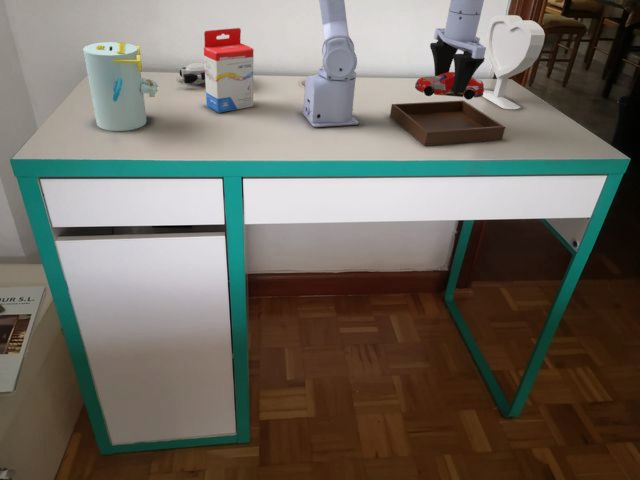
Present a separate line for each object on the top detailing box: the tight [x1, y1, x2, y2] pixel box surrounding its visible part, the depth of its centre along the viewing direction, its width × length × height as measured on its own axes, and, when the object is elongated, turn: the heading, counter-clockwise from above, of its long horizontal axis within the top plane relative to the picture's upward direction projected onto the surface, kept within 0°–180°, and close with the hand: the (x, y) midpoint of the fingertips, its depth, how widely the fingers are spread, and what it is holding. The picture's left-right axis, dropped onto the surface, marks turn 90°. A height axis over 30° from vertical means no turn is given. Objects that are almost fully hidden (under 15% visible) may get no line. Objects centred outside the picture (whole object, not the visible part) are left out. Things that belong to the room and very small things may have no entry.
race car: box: [414, 71, 485, 100], centre depth 100 cm, size 13×5×4 cm, turn 86°
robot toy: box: [175, 62, 206, 86], centre depth 116 cm, size 12×4×15 cm
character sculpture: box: [82, 41, 159, 132], centre depth 92 cm, size 20×12×13 cm, turn 17°
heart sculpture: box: [481, 14, 546, 110], centre depth 117 cm, size 16×5×18 cm, turn 18°
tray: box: [389, 100, 506, 147], centre depth 104 cm, size 17×15×3 cm
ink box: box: [203, 27, 254, 114], centre depth 102 cm, size 8×5×15 cm, turn 129°
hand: (449, 86), depth 101 cm, fingers closed on race car, 6 cm apart
